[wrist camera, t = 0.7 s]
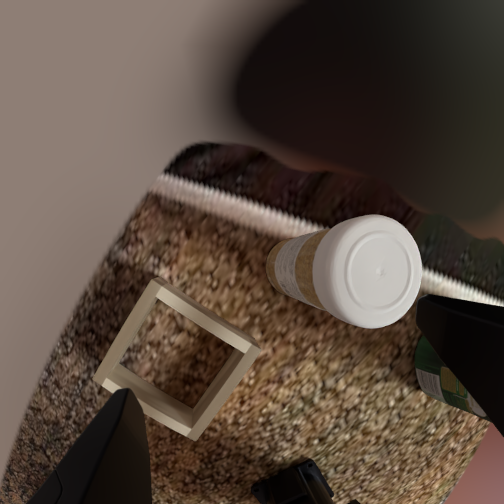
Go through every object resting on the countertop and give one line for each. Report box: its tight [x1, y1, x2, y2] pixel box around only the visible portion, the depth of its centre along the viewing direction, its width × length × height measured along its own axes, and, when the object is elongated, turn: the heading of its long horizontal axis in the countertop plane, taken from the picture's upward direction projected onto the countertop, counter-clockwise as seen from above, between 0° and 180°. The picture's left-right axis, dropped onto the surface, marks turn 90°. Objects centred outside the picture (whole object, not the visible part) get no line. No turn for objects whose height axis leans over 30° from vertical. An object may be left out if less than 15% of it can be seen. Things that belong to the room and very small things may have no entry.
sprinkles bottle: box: [266, 215, 422, 329], centre depth 18 cm, size 5×5×14 cm
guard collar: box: [93, 277, 261, 441], centre depth 22 cm, size 9×9×4 cm
